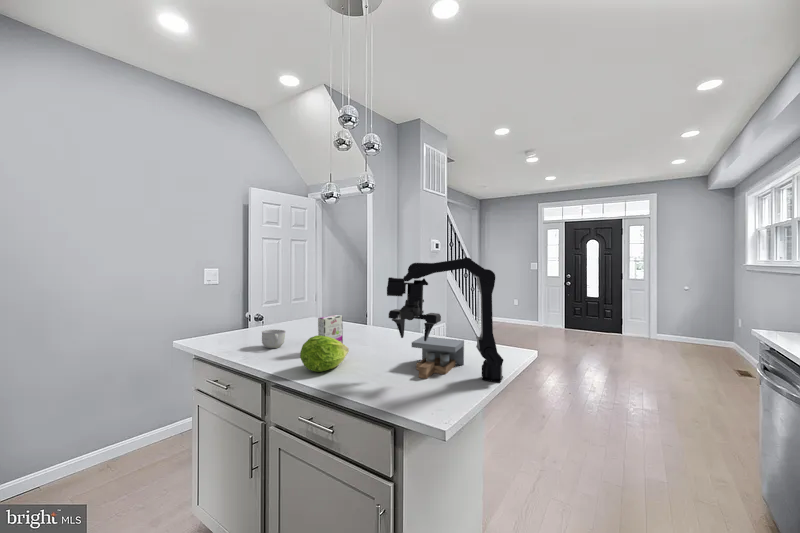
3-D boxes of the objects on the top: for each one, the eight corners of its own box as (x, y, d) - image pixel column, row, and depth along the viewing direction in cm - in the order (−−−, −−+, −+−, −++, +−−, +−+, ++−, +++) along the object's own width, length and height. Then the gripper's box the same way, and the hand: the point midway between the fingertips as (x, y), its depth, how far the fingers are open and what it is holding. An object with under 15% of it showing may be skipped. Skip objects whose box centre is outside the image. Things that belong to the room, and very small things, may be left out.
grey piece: (463, 364, 148) (464, 340, 148) (455, 373, 137) (455, 347, 136) (423, 359, 156) (423, 336, 155) (411, 367, 144) (411, 342, 144)
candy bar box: (335, 348, 173) (335, 314, 173) (343, 350, 170) (343, 315, 170) (317, 353, 164) (317, 317, 164) (324, 355, 161) (324, 318, 161)
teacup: (262, 345, 179) (262, 329, 179) (285, 343, 182) (285, 328, 182) (260, 352, 166) (260, 334, 166) (285, 350, 169) (285, 333, 169)
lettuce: (362, 365, 150) (359, 331, 153) (323, 373, 129) (320, 334, 132) (334, 367, 157) (332, 335, 160) (292, 375, 136) (291, 338, 139)
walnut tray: (455, 366, 146) (455, 352, 146) (438, 380, 128) (438, 365, 128) (427, 362, 152) (427, 349, 151) (407, 375, 134) (407, 360, 133)
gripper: (382, 296, 129) (380, 340, 129) (431, 301, 120) (429, 347, 121) (395, 294, 139) (394, 334, 139) (442, 298, 130) (440, 341, 131)
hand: (413, 339), depth 132 cm, fingers open, 9 cm apart
